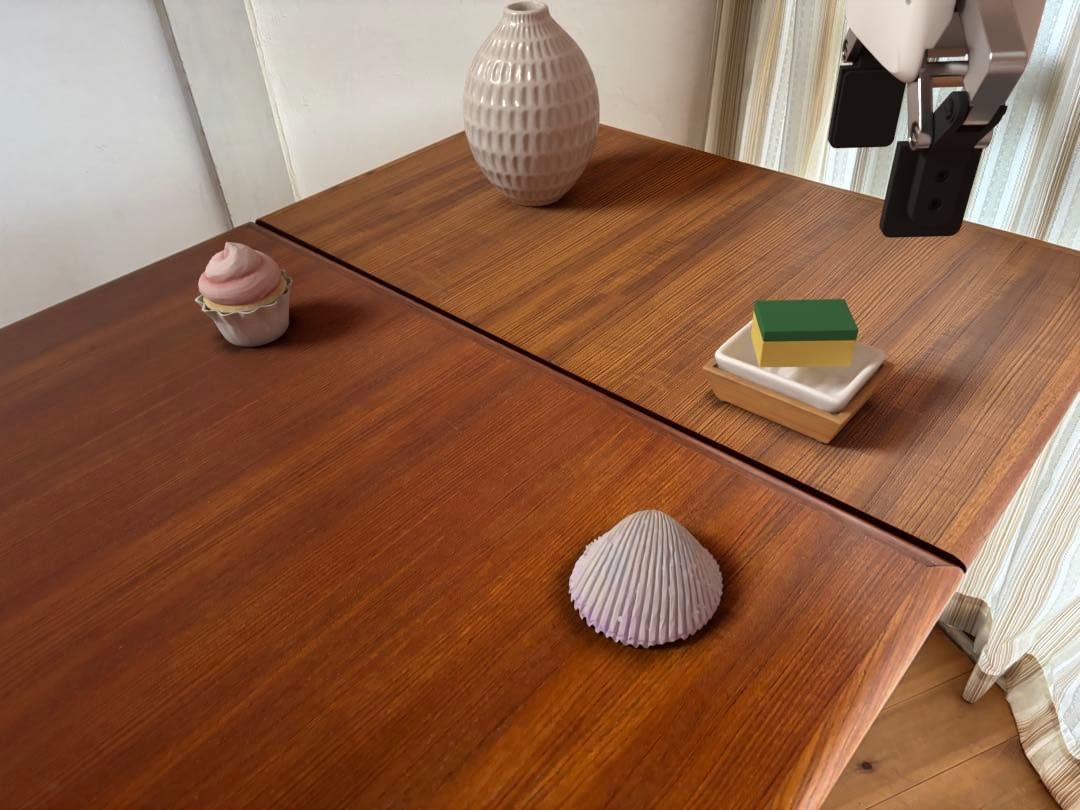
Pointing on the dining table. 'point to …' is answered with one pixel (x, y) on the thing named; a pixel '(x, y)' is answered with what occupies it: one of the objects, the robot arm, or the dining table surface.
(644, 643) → the seashell
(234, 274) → the cupcake
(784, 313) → the scrub sponge
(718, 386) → the soap dish
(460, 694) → the dining table surface
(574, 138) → the vase
